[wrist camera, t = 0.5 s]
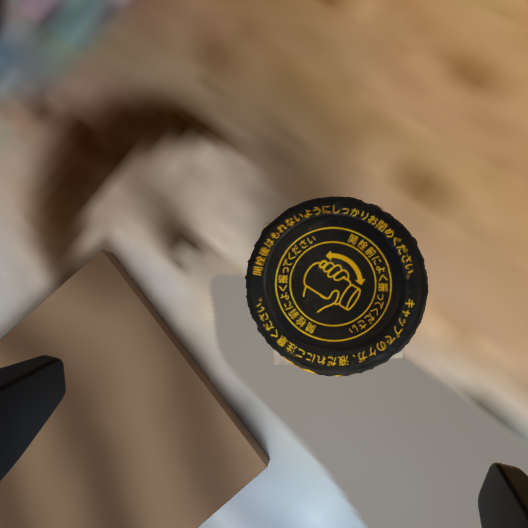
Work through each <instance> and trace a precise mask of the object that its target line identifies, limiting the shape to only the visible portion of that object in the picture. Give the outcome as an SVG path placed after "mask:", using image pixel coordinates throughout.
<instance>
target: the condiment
mask: <svg viewBox="0 0 528 528" xmlns="http://www.w3.org/2000/svg"><path fill="white" fill-rule="evenodd" d="M254 247H255V248H254V250H253V252H252V254H251V257H250V259H249V260H248V268H247V275H246V276H245V279H246V288H247V296H246V297H247V302H248V307H249V309H250V313H251V315H252V318H253V319H254V321H255V322H256V323H257V326H258V328H257V329H258V331H259V332H260V333H261V334H262V336H263V337H264V338H265V340H266V342H267V343H268V344H269V345H270V346H271V347H272V349H273V365H282V364H292V365H295V366H297V367H299V368H301V369H303V370H306V371H308V372H311V373H315V374H318V375H325V376H349V375H352V374H356V373H362V372H364V371H367V370H371V369H373V368H374V367H375V366H378V365H380V364H383V363H385V362H387V361H388V360H389V359H392V358H403V354H402V349H403V348H404V347H405V345H407V344H408V343H409V341H410V339H411V338H412V336H413V335H414V334H415V332H416V329H417V327H418V326H419V324H420V323H421V320H422V317H423V313H424V311H425V305H426V300H427V295H428V282H427V280H428V277H427V275H426V274H427V272H426V270H425V265H424V258H423V257H422V255H421V252H420V250H419V248H418V246H417V241H416V239H415V238H414V237H412V235H411V234H410V232H409V231H408V230H407V229H406V228H405V227H404V226H403V225H402V224H401V223H400V222H399V221H398V220H396V219H395V218H394V217H393V216H392V215H391V214H389V213H387V212H385V211H382V210H381V209H380V208H379V207H378V206H376V205H373V204H367V203H365V202H363V201H362V200H358V199H356V198H351V197H325V198H316V199H312V200H308V201H305V202H302V203H300V204H298V205H296V206H294V207H291V208H289V209H287V210H286V211H285V212H283V213H282V214H281V215H280V216H279V217H278V218H276V219H275V220H274V221H273V222H272V223H270V224H267V225H264V229H263V231H262V233H261V236H260V238H259V240H258V241H257V242H256V244H255V245H254Z"/></svg>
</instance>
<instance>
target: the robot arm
mask: <svg viewBox="0 0 528 528" xmlns="http://www.w3.org/2000/svg"><path fill="white" fill-rule="evenodd" d="M65 392H66V381H65V372H64V364H63V361H62V360H61V359H60V358H57V357H53V356H48V355H41V356H38V357H35V358H31V359H28V360H25V361H22V362H18V363H15V364H12V365H9V366H5V367H2V368H0V481H1V480H2V479H3V478H4V477H5V476H6V475H7V473H8V472H9V471H10V470H11V469H12V467H13V466H14V465H15V464H16V462H17V461H18V460H19V459H20V457H21V456H22V455H23V453H24V452H25V451H26V449H27V448H28V447H29V445H30V444H31V442H32V441H33V440H34V438H35V437H36V436H37V434H38V433H39V431H40V430H41V429H42V427H43V426H44V424H45V423H46V422H47V420H48V419H49V418H50V416H51V415H52V413H53V412H54V411H55V409H56V408H57V406H58V405H59V404H60V402H61V401H62V399H63V397H64V395H65ZM478 508H479V513H480V520H481V525H482V528H528V476H527V475H526V474H525V473H524V472H523V471H522V470H520V469H519V468H517V467H515V466H510V465H505V464H502V463H493V464H492V465H491V466H490V468H489V470H488V473H487V475H486V478H485V480H484V483H483V485H482V487H481V490H480V493H479V498H478Z"/></svg>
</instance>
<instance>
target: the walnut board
mask: <svg viewBox="0 0 528 528" xmlns="http://www.w3.org/2000/svg"><path fill="white" fill-rule="evenodd" d="M41 355H48V356H53V357H57V358H60V359H61V360H62V361H63V364H64V372H65V381H66V392H65V395H64V397H63V399H62V401H61V402H60V404H59V405H58V406H57V408H56V409H55V411H54V412H53V413H52V415H51V416H50V418H49V419H48V420H47V422H46V423H45V424H44V426H43V427H42V429H41V430H40V431H39V433H38V434H37V436H36V437H35V438H34V440H33V441H32V442H31V444H30V445H29V447H28V448H27V449H26V451H25V452H24V453H23V455H22V456H21V457H20V459H19V460H18V461H17V462H16V464H15V465H14V466H13V467H12V469H11V470H10V471H9V472H8V473H7V475H6V476H5V477H4V478H3V479H2V480H1V481H0V528H198V527H199V526H200V525H201V524H202V523H203V522H205V521H206V520H207V519H208V518H209V517H210V516H211V515H213V514H214V513H215V512H216V511H217V510H218V509H219V508H221V507H222V506H223V505H224V504H225V503H226V502H228V501H229V500H230V499H231V498H232V497H233V496H234V495H236V494H237V493H238V492H239V491H240V490H241V489H242V488H244V487H245V486H246V485H247V484H248V483H249V482H250V481H252V480H253V479H254V478H255V477H256V476H257V475H258V474H260V473H261V472H262V471H263V470H264V469H265V468H266V467H267V466H268V463H269V460H270V459H269V457H268V456H267V455H266V453H265V452H264V451H263V449H262V448H261V447H260V445H259V444H258V443H257V442H256V440H255V439H254V438H253V436H252V435H251V434H250V432H249V431H248V430H247V428H246V427H245V426H244V425H243V423H242V422H241V421H240V419H239V418H238V417H237V415H236V414H235V413H234V411H233V410H232V409H231V408H230V406H229V405H228V404H227V402H226V401H225V400H224V398H223V397H222V396H221V394H220V393H219V392H218V391H217V389H216V388H215V387H214V385H213V384H212V383H211V381H210V380H209V379H208V378H207V376H206V375H205V374H204V372H203V371H202V370H201V368H200V367H199V366H198V364H197V363H196V362H195V361H194V359H193V358H192V357H191V355H190V354H189V353H188V351H187V350H186V349H185V347H184V346H183V345H182V344H181V342H180V341H179V340H178V338H177V337H176V336H175V334H174V333H173V332H172V330H171V329H170V328H169V327H168V325H167V324H166V323H165V321H164V320H163V319H162V317H161V316H160V315H159V313H158V312H157V311H156V310H155V308H154V307H153V306H152V304H151V303H150V302H149V300H148V299H147V298H146V296H145V295H144V294H143V293H142V291H141V290H140V289H139V287H138V286H137V285H136V283H135V282H134V281H133V279H132V278H131V277H130V276H129V274H128V273H127V272H126V270H125V269H124V268H123V266H122V265H121V264H120V262H119V261H118V260H117V259H116V257H115V256H114V255H113V253H110V252H108V251H105V250H101V251H100V252H99V253H98V254H96V255H95V256H94V257H93V258H92V259H91V260H90V261H89V262H87V263H86V264H85V265H84V266H83V267H82V268H81V269H79V270H78V271H77V272H76V273H75V274H74V275H73V276H72V277H70V278H69V279H68V280H67V281H66V282H65V283H64V284H63V285H61V286H60V287H59V288H58V289H57V290H56V291H55V292H54V293H52V294H51V295H50V296H49V297H48V298H47V299H46V300H45V301H43V302H42V303H41V304H40V305H39V306H38V307H37V308H36V309H34V310H33V311H32V312H31V313H30V314H29V315H28V316H26V317H25V318H24V319H23V320H22V321H21V322H20V323H19V324H17V325H16V326H15V327H14V328H13V329H12V330H11V331H10V332H8V333H7V334H6V335H5V336H4V337H3V338H2V339H1V340H0V368H2V367H5V366H9V365H12V364H15V363H18V362H22V361H25V360H28V359H31V358H35V357H38V356H41Z"/></svg>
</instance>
